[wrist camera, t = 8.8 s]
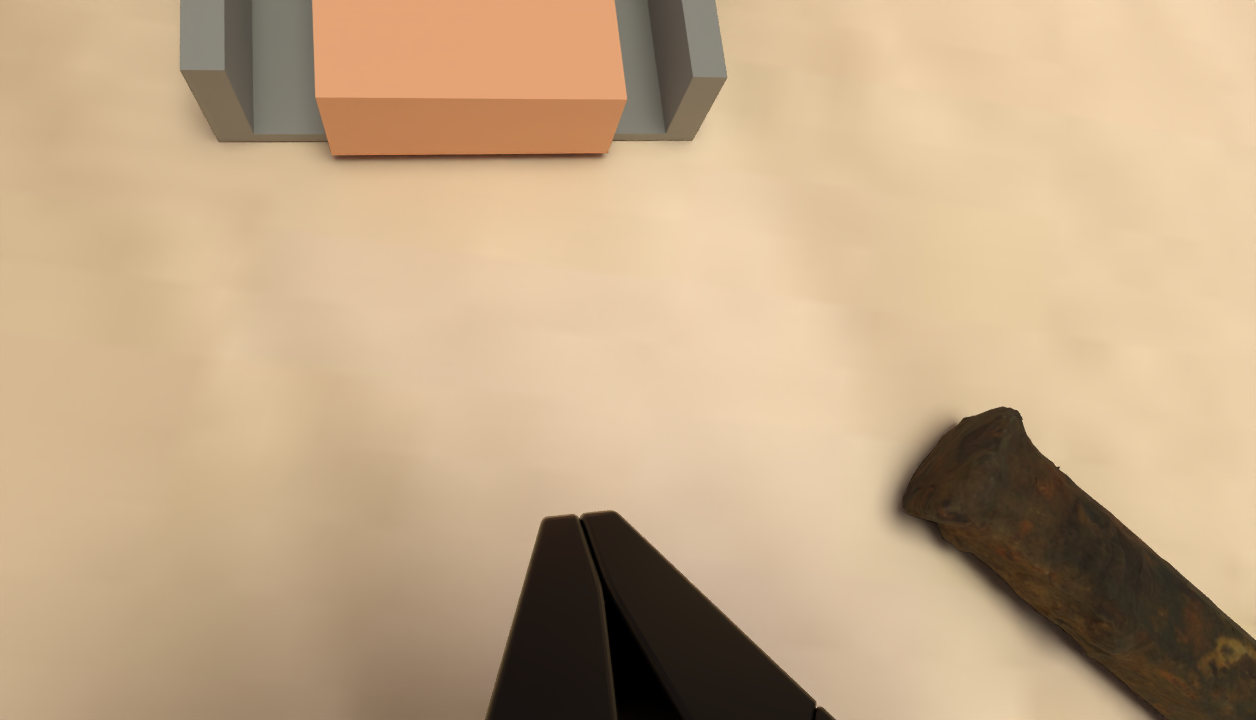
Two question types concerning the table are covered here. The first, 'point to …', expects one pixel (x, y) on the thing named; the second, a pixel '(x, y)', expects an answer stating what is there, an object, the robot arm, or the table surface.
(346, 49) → the tile
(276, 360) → the table surface
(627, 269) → the table surface
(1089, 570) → the hand tool
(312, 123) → the tray
